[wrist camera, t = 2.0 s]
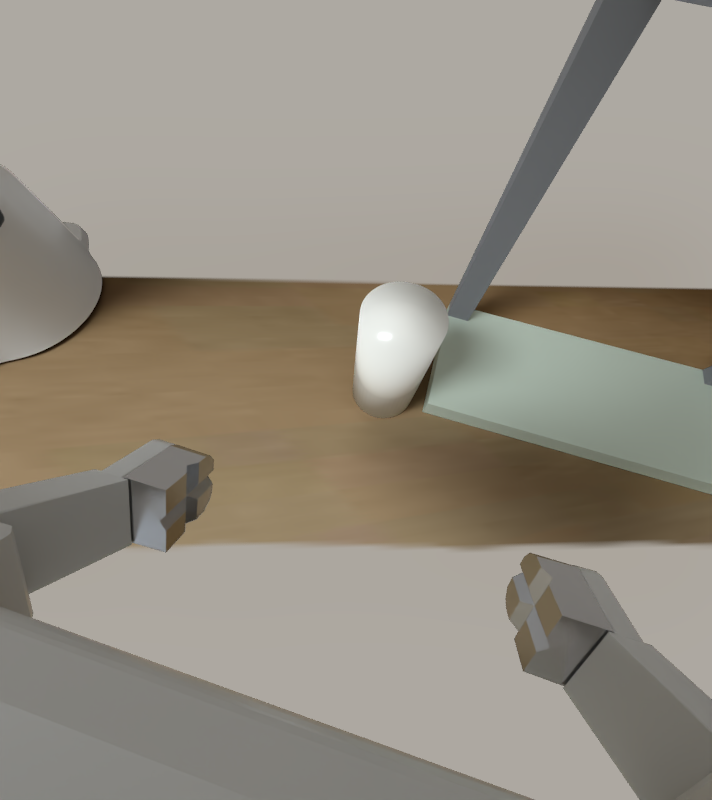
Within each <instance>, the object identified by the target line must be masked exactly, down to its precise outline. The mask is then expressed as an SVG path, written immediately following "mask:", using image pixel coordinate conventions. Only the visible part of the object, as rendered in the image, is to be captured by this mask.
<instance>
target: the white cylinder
mask: <svg viewBox="0 0 712 800" xmlns="http://www.w3.org/2000/svg"><path fill="white" fill-rule="evenodd" d="M448 326H449V318H448V313H447V310H446V308H445V306H444V304H443V303H442V301H441V300H440V299H439V298H438V297H437V296H436V295H435V294H434V293H433V292H431V291H430V290H428V289H427V288H425V287H423V286H420V285H418V284H414V283H410V282H390V283H386V284H383V285H381V286H379V287H377V288H375V289H374V290H372V291H371V292H370V293H369V294H368V295H367V296H366V297H365V299H364V301H363V303H362V305H361V308H360V316H359V327H358V337H357V348H356V358H355V369H354V379H353V396H354V399H355V401H356V403H357V405H358V406H359V407H360V408H361V409H362V410H363V411H364V412H365V413H367V414H369V415H371V416H373V417H377V418H391V417H394V416H397V415H399V414H400V413H402V412H403V411H404V410H405V409H406V408H407V406H408V405H409V403H410V401H411V399H412V398H413V396H414V394H415V392H416V390H417V388H418V386H419V384H420V383H421V381H422V379H423V377H424V375H425V373H426V371H427V370H428V368H429V366H430V364H431V362H432V360H433V358H434V357H435V355H436V353H437V351H438V349H439V347H440V345H441V344H442V342H443V340H444V338H445V336H446V334H447V331H448Z"/></svg>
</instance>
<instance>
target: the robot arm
mask: <svg viewBox="0 0 712 800" xmlns="http://www.w3.org/2000/svg"><path fill="white" fill-rule="evenodd" d="M88 245H89V244H88V235H87V233H86V232H85V231H84V230H83V229H82V228H81V227H80V226H79V225H77V224H74V223H66V222H62V221H61V220H60V219H59V218H58V217H57V216H56V215H55V214H54V213H53V212H52V211H50V210H49V208H48V207H47V206H46V205H45V204H44V203H42V202H41V200H40V199H39V198H38V197H37V196H35V195H34V194H33V193H32V192H31V191H30V190H29V189H28V188H27V187H26V186H25V185H24V184H23V183H22V182H21V181H20V180H19V179H18V178H17V177H16V176H15V175H14V174H13V173H12V172H11V171H9V169H7V168H6V167H5V166H3V165H1V164H0V363H2V362H6V361H10V360H15V359H19V358H23V357H27V356H30V355H33V354H36V353H38V352H41V351H43V350H45V349H47V348H49V347H51V346H53V345H55V344H57V343H58V342H60V341H62V340H63V339H65V338H66V337H67V336H69V335H70V334H71V333H73V332H74V331H75V330H76V329H77V328H78V327H79V326H80V325H81V324H82V323H83V322H84V321H85V320H86V319H87V318H88V316H89V315H90V314H91V312H92V311H93V309H94V308H95V306H96V304H97V302H98V299H99V297H100V293H101V289H102V276H101V272H100V270H99V267H98V265H97V263H96V262H95V260H94V259H93V257H92V256H91V255H90V253H89V251H88ZM213 470H214V459H213V458H212V457H211V456H210V455H207V454H204V453H201V452H198V451H195V450H192V449H189V448H185V447H182V446H179V445H175V444H173V443H169V442H166V441H163V440H160V439H156V440H152V441H150V442H148V443H147V444H145V445H143V446H142V447H140V448H138V449H137V450H135V451H133V452H132V453H130V454H129V455H127V456H125V457H124V458H122V459H120V460H119V461H117V462H115V463H114V464H112V465H111V466H109V467H107V468H106V469H104V470H102V471H99V470H96V469H94V470H90V471H85V472H80V473H76V474H71V475H66V476H62V477H57V478H52V479H48V480H43V481H38V482H34V483H29V484H24V485H20V486H15V487H10V488H6V489H1V490H0V800H534V799H531V798H528V797H526V796H523V795H520V794H517V793H514V792H512V791H509V790H506V789H504V788H501V787H498V786H495V785H493V784H490V783H487V782H484V781H481V780H479V779H476V778H473V777H470V776H468V775H465V774H462V773H459V772H457V771H454V770H451V769H448V768H446V767H443V766H440V765H437V764H435V763H432V762H429V761H426V760H424V759H421V758H418V757H415V756H412V755H410V754H407V753H404V752H401V751H399V750H396V749H393V748H390V747H388V746H385V745H382V744H379V743H376V742H374V741H371V740H368V739H366V738H362V737H360V736H357V735H354V734H352V733H349V732H346V731H343V730H341V729H338V728H335V727H332V726H330V725H327V724H324V723H321V722H319V721H315V720H313V719H310V718H307V717H304V716H302V715H299V714H296V713H294V712H291V711H288V710H285V709H282V708H280V707H277V706H274V705H271V704H269V703H266V702H263V701H260V700H258V699H255V698H252V697H249V696H246V695H243V694H241V693H238V692H235V691H233V690H229V689H227V688H224V687H221V686H219V685H216V684H213V683H210V682H208V681H205V680H202V679H199V678H197V677H194V676H191V675H188V674H185V673H183V672H180V671H177V670H174V669H172V668H169V667H166V666H163V665H160V664H158V663H155V662H152V661H150V660H147V659H144V658H141V657H138V656H136V655H133V654H130V653H127V652H125V651H122V650H119V649H116V648H113V647H111V646H108V645H105V644H102V643H99V642H97V641H94V640H91V639H88V638H86V637H83V636H80V635H78V634H75V633H72V632H69V631H67V630H64V629H61V628H58V627H55V626H52V625H50V624H47V623H44V622H42V621H39V620H36V619H33V618H32V617H33V610H32V606H31V602H30V598H29V594H30V593H32V592H34V591H36V590H38V589H40V588H42V587H44V586H47V585H49V584H51V583H53V582H55V581H57V580H59V579H61V578H63V577H65V576H67V575H69V574H71V573H74V572H76V571H78V570H80V569H82V568H84V567H86V566H88V565H90V564H92V563H94V562H96V561H98V560H101V559H102V558H105V557H107V556H109V555H111V554H113V553H115V552H117V551H119V550H121V549H123V548H125V547H128V546H130V545H131V544H132V543H135V544H139V545H142V546H145V547H149V548H152V549H156V550H159V551H163V552H167V551H168V550H169V549H170V548H171V547H172V545H173V544H174V543H175V542H176V541H177V540H178V539H179V538H180V537H181V536H182V535H183V534H184V532H185V523H188V522H190V521H193V520H196V519H197V518H198V517H199V516H200V515H201V513H202V512H203V511H204V509H205V508H206V506H207V504H208V502H209V500H210V497H211V493H212V485H213V484H212V482H211V480H210V479H209V477H208V475H209V474H210V473H211V472H212V471H213ZM520 565H521V568H522V571H523V573H520V574H518V575H516V576H514V577H512V579H511V581H510V583H509V585H508V587H507V593H506V609H507V613H508V617H509V620H510V621H511V622H512V624H513V625H514V626H515V628H516V629H517V630H518V633H517V635H516V637H515V639H514V640H515V643H516V647H517V651H518V654H519V658H520V662H521V665H522V669H523V671H524V672H527V673H529V674H532V675H535V676H538V677H541V678H543V679H546V680H549V681H551V682H554V683H557V684H560V685H563V686H564V690H565V691H566V693H567V694H568V696H569V697H570V699H571V700H572V702H573V703H574V705H575V706H576V707H577V709H578V710H579V712H580V713H581V715H582V716H583V718H584V719H585V721H586V722H587V724H588V725H589V726H590V728H591V729H592V731H593V732H594V734H595V735H596V737H597V738H598V740H599V741H600V743H601V744H602V746H603V747H604V748H605V750H606V751H607V753H608V754H609V756H610V757H611V759H612V760H613V762H614V763H615V764H616V766H617V767H618V769H619V770H620V772H621V773H622V775H623V776H624V778H625V779H626V780H627V782H628V783H629V785H630V786H631V788H632V789H633V791H634V792H635V793H636V795H637V797H638V798H639V799H640V800H712V699H710V697H708V696H707V695H706V694H705V693H704V692H703V691H702V690H701V689H699V688H698V687H697V686H696V685H695V684H694V683H693V682H692V681H691V680H689V679H688V678H687V677H686V676H685V675H684V674H683V673H682V672H681V671H680V670H678V669H677V668H676V667H675V666H674V665H673V664H672V663H671V662H670V661H668V660H667V659H666V658H665V657H664V656H663V655H662V654H661V653H659V652H658V651H657V650H656V649H655V648H654V647H653V646H652V645H649V644H646V643H643V641H642V639H641V638H640V636H639V635H638V633H637V631H636V630H635V628H634V627H633V625H632V623H631V622H630V620H629V618H628V617H627V616H626V614H625V612H624V610H623V609H622V607H621V606H620V604H619V602H618V601H617V599H616V598H615V596H614V594H613V593H612V591H611V590H610V588H609V586H608V585H607V583H606V582H605V580H604V578H603V577H602V576H601V575H600V574H598V573H597V572H596V571H593V570H589V569H585V568H582V567H578V566H574V565H569V564H566V563H562V562H559V561H556V560H552V559H549V558H545V557H542V556H539V555H535V554H532V553H529V554H528V555H526V556H525V557H524V558H523V560H522V562H521V564H520Z"/></svg>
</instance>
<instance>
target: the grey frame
mask: <svg viewBox="0 0 712 800" xmlns="http://www.w3.org/2000/svg"><path fill="white" fill-rule="evenodd" d="M677 1H682V2H687V3H692V4H697V5H702V6H708V7H712V0H677ZM660 2H661V0H596V1H595V3H594V5H593V7H592V10H591V11H590V13H589V16H588V18H587V20H586V22H585V24H584V26H583V28H582V30H581V32H580V34H579V36H578V38H577V40H576V43H575V45H574V47H573V49H572V51H571V53H570V55H569V57H568V59H567V61H566V63H565V66H564V68H563V70H562V72H561V74H560V76H559V78H558V80H557V82H556V84H555V86H554V88H553V90H552V93H551V94H550V97H549V99H548V101H547V103H546V105H545V107H544V109H543V111H542V113H541V115H540V118H539V119H538V122H537V124H536V126H535V128H534V130H533V132H532V134H531V136H530V138H529V140H528V142H527V144H526V146H525V149H524V151H523V153H522V155H521V157H520V159H519V161H518V163H517V165H516V167H515V169H514V172H513V173H512V176H511V178H510V180H509V182H508V184H507V186H506V188H505V190H504V192H503V194H502V197H501V198H500V201H499V203H498V205H497V207H496V209H495V211H494V213H493V215H492V217H491V219H490V221H489V223H488V225H487V227H486V230H485V232H484V234H483V236H482V238H481V240H480V242H479V244H478V246H477V248H476V250H475V253H474V254H473V257H472V259H471V261H470V263H469V265H468V267H467V269H466V271H465V273H464V275H463V277H462V279H461V282H460V284H459V286H458V288H457V290H456V292H455V294H454V296H453V298H452V300H451V302H450V304H449V306H448V309H447V313H448V318H449V326H448V331H447V334H446V336H445V338H444V340H443V342H442V344H441V345H440V347H439V349H438V351H437V353H436V355H435V358H434V362H433V366H432V371H431V375H430V380H429V384H428V389H427V393H426V398H425V402H424V406H423V411H422V412H425V413H428V414H432V415H435V416H439V417H442V418H446V419H449V420H453V421H456V422H460V423H463V424H467V425H470V426H474V427H477V428H481V429H484V430H488V431H491V432H495V433H498V434H502V435H505V436H509V437H512V438H516V439H519V440H523V441H526V442H530V443H533V444H537V445H540V446H544V447H547V448H551V449H554V450H558V451H561V452H565V453H568V454H572V455H575V456H579V457H582V458H586V459H589V460H593V461H596V462H600V463H603V464H607V465H610V466H614V467H617V468H621V469H624V470H628V471H631V472H635V473H638V474H642V475H645V476H649V477H652V478H656V479H659V480H662V481H666V482H669V483H673V484H676V485H680V486H683V487H687V488H690V489H694V490H697V491H701V492H704V493H708V494H711V495H712V366H710V367H708V368H706V369H704V370H701V369H697V368H693V367H689V366H686V365H682V364H678V363H674V362H670V361H667V360H663V359H659V358H655V357H651V356H648V355H644V354H640V353H636V352H632V351H629V350H625V349H621V348H617V347H613V346H610V345H606V344H602V343H598V342H594V341H591V340H587V339H583V338H579V337H575V336H572V335H568V334H564V333H560V332H556V331H553V330H549V329H545V328H541V327H537V326H534V325H530V324H526V323H522V322H519V321H515V320H511V319H507V318H503V317H500V316H496V315H492V314H488V313H484V312H481V311H477V310H475V308H476V307H477V305H478V303H479V302H480V300H481V298H482V297H483V295H484V293H485V292H486V290H487V288H488V287H489V285H490V283H491V282H492V280H493V278H494V277H495V275H496V273H497V271H498V270H499V268H500V266H501V265H502V263H503V262H504V260H505V259H506V257H507V255H508V254H509V252H510V250H511V248H512V247H513V245H514V243H515V242H516V240H517V239H518V237H519V235H520V233H521V232H522V230H523V229H524V227H525V225H526V224H527V222H528V220H529V218H530V217H531V215H532V214H533V212H534V210H535V209H536V207H537V206H538V204H539V202H540V201H541V199H542V197H543V196H544V194H545V192H546V190H547V189H548V187H549V186H550V184H551V182H552V181H553V179H554V177H555V176H556V174H557V172H558V171H559V169H560V167H561V166H562V164H563V162H564V161H565V159H566V157H567V156H568V154H569V153H570V151H571V149H572V148H573V146H574V144H575V143H576V141H577V139H578V138H579V136H580V134H581V133H582V131H583V129H584V128H585V126H586V124H587V123H588V121H589V119H590V117H591V116H592V114H593V113H594V111H595V109H596V108H597V106H598V105H599V103H600V101H601V99H602V98H603V96H604V94H605V93H606V91H607V90H608V88H609V86H610V85H611V83H612V81H613V80H614V77H615V76H616V75H617V73H618V71H619V70H620V68H621V66H622V65H623V63H624V61H625V60H626V58H627V56H628V55H629V53H630V52H631V50H632V48H633V46H634V45H635V43H636V42H637V40H638V38H639V37H640V35H641V33H642V32H643V30H644V28H645V27H646V25H647V23H648V22H649V20H650V18H651V17H652V15H653V13H654V12H655V10H656V8H657V7H658V5H659V4H660Z"/></svg>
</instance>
